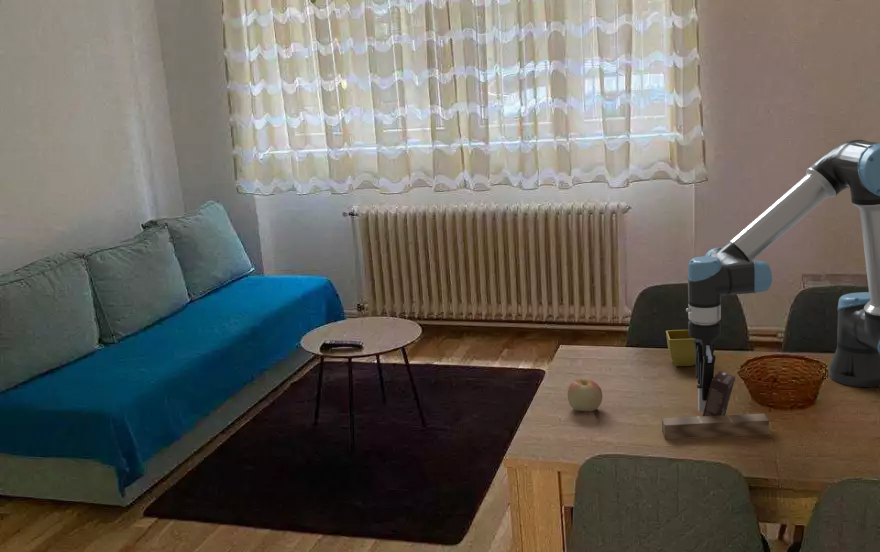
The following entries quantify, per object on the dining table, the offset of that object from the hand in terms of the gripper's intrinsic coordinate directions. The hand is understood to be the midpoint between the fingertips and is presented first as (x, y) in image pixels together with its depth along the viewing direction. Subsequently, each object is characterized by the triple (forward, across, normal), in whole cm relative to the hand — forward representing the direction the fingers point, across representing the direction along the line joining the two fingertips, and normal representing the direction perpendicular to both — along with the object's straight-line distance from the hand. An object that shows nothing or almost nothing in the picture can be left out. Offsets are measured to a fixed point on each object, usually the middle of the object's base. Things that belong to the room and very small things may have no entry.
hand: (704, 410), depth 216 cm
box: (+1, +4, +1) cm, 4 cm away
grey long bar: (+1, +10, 0) cm, 10 cm away
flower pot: (+2, -37, +2) cm, 37 cm away
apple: (+2, -7, -29) cm, 30 cm away
